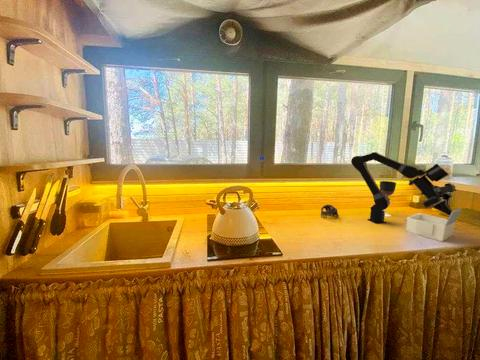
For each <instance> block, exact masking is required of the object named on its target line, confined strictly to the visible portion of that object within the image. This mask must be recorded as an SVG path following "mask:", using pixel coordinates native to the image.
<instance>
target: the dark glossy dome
mask: <svg viewBox="0 0 480 360" xmlns="http://www.w3.org/2000/svg"><path fill="white" fill-rule="evenodd" d="M320 210H321V211H320V216H321V217H324V216H325V217H327V216H336V217H337V218H338V219H339V218H340V217H339V213H338V209H337V207H335V206H334V204H333V205H332V204H327V203H326V204H325V205H323V206H322V207H321V208H320ZM324 210H325V211H324Z"/></svg>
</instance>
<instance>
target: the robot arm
mask: <svg viewBox="0 0 480 360" xmlns="http://www.w3.org/2000/svg"><path fill="white" fill-rule="evenodd" d="M371 161H375V162H378V163H380V164H381V165H382V164H383V165H385V166H387V167H388V168H391V169H393V170H395V171H396V172H398V173H400V174H401V175H402V176H404V177H405V178H407V179H409V180H408V186H413V185H414V186H415V187H416V188H417V189H418V190H419V191H420V192H421V193H420V194H421V195H422V196H425V198H426V199H427V200H425V201H423V203H422V204H423V206H424V207H425V208H426V209H428V208H429V207H431V206H432V207H431V208H432V209H436V210H437V211H440V212H442V213H444V214H445V215H448V216H450V214H451V212H452V211H453V210H452V208H451V206H450V204H449V203H450V200H451V198H453V197H454V196H453V195H452V194H451V193H454V192H456V191H457V190H456V185H454V184H453V183H452V184H451V183H450V182H447V183H444V186H440V187H439V186H438V185H434V184H433V182H439V181H440V180H442V179H444V178H446V177H447V176H449V175H450V174H449V172H447V171H446V170H445V168H443V167H441V166H440V165H439V164H438V163H436V164H434V165H432V166H431V167H429V168H428V169H427V170H424V169H420V168H418V167H417V166H414V165H411V164H407V163H403V162H398V161H397V160H394V159H393V158H390V157H388V156H384V155H383V154H380V153H379V152H376V151H373V152H371V153H368V154H365V155H355V156H353V157H352V158H351V161H350V162H351V165H352V166H353V167H354V168H355V170H356V171H358V172H359V174H360V175H361V177H362V178H363V181H364V182H365V183H366V185H367V187H368V189H369V191H370V193H371V194H372V198H373V202H374V204H373V205H371V207H370V216H369V218H367V221H369V222H372V223H375V224H386V223H387V222H386V221H385V217H386V216H385V213H386V209H387V208H388V207H389V206H390V205H391V198H390V197H389V196H387V193H385V194H383V193H382V192H381V191H380V187H379V186H378V184H377V183H376V180H375V179H374V177H373V176H372V174H371V173H370V171H369V168H368V162H371ZM419 176H420V177H419ZM412 179H413V180H412ZM384 210H385V211H384Z"/></svg>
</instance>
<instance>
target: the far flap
mask: <svg viewBox="0 0 480 360" xmlns="http://www.w3.org/2000/svg"><path fill="white" fill-rule="evenodd" d="M462 210H463V207H459V208H456V209H454V210H452V212H451V214H450V215H448V220H447V222H446V224H445V226H448V225H450V224H452V223H453V222H455V223H456V222H457V219H458V218H459V216H460V214H461V211H462Z"/></svg>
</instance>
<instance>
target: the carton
mask: <svg viewBox="0 0 480 360" xmlns="http://www.w3.org/2000/svg"><path fill="white" fill-rule="evenodd" d="M447 220H448V219H447V218H444V217H440V216H434V215H431V214H425V213H418V212H417V213H415V214H412V215H409V216H407V219H406V224H405V229H406V232H407V233H410V234H414V235H417V236H421V237H424V238H425V237H426V238H427V239H428V238H429V239H432V240H435V241H439V242H442V243H443V242H444V241H446V240H448V239H449V238H451V237H452V236H454V232H455V231H454V230H455V226H456V221H455V222H453V223H452V224H450V225H448V226H445V224H446V222H447Z"/></svg>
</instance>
